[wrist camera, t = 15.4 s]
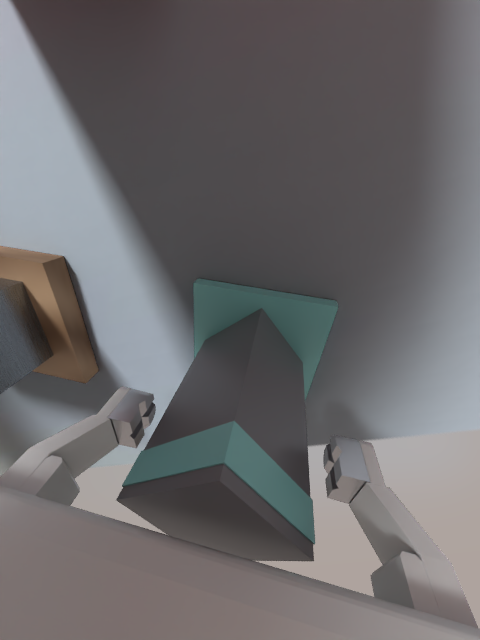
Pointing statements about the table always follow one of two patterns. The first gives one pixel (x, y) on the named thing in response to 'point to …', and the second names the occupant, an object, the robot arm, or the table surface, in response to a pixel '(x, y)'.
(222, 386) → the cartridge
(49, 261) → the board
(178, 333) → the table surface
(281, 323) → the pad
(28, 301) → the panel
